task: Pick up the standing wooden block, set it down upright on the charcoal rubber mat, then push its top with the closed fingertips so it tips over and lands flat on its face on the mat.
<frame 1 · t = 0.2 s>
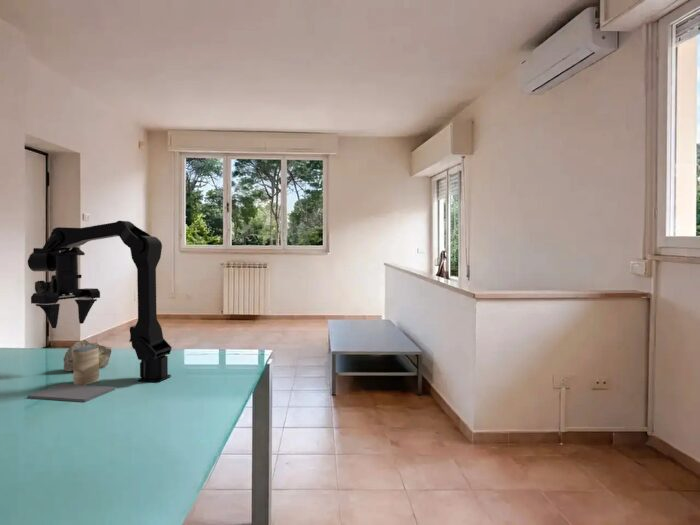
hand: (68, 325, 147), 14 cm above the table, fingers open, 9 cm apart
rock: (87, 370, 154), on the table
wooden block: (86, 382, 139), on the table
mat: (72, 393, 129), on the table
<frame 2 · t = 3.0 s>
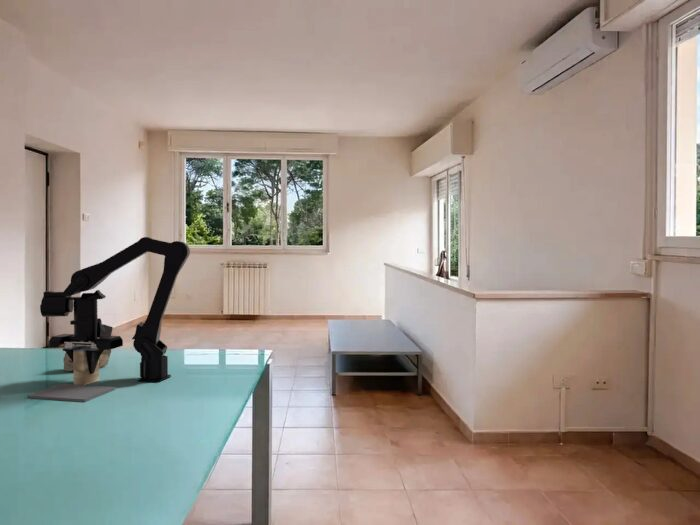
hand: (86, 373, 139), 3 cm above the table, fingers closed on wooden block, 3 cm apart
wooden block: (86, 382, 139), on the table, touching gripper
everything else where it was.
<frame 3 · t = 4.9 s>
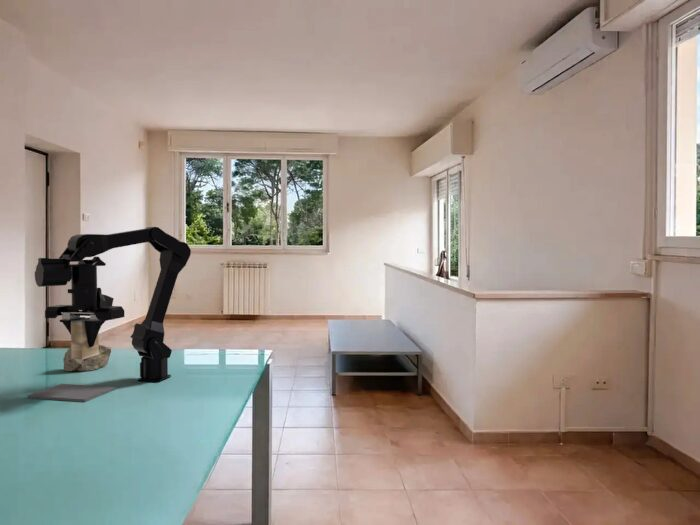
hand: (85, 346, 129), 12 cm above the table, fingers closed on wooden block, 3 cm apart
wooden block: (85, 356, 129), point 9 cm above the table, touching gripper
everything else where it was.
when the fingers open (3 cm above the table, at t = 6.9 s): wooden block stays where it is, resting on mat.
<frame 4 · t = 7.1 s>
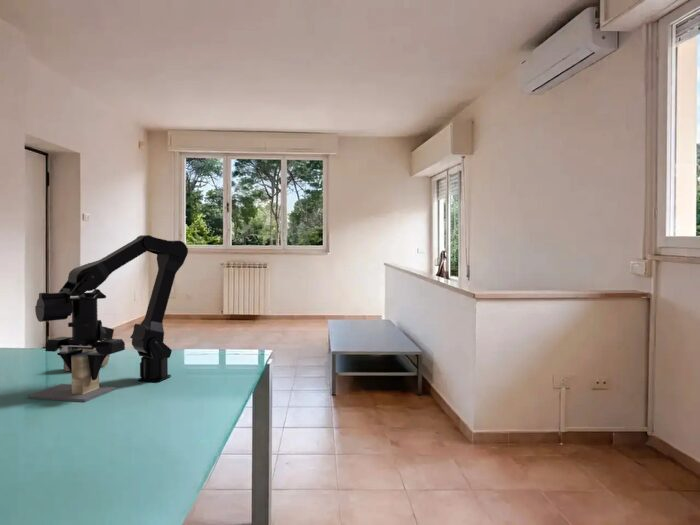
hand: (85, 379, 129), 3 cm above the table, fingers open, 5 cm apart
wooden block: (85, 390, 129), point 1 cm above the table, touching mat
everything else where it was.
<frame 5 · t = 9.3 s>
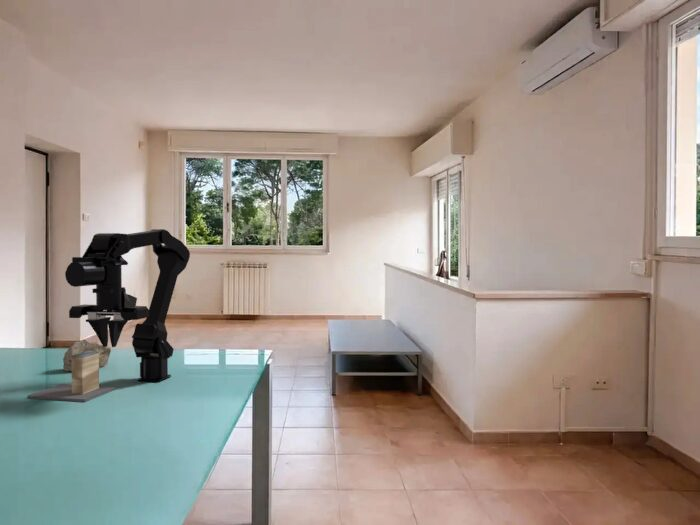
hand: (109, 346, 127), 12 cm above the table, fingers closed
nothing on the table moved.
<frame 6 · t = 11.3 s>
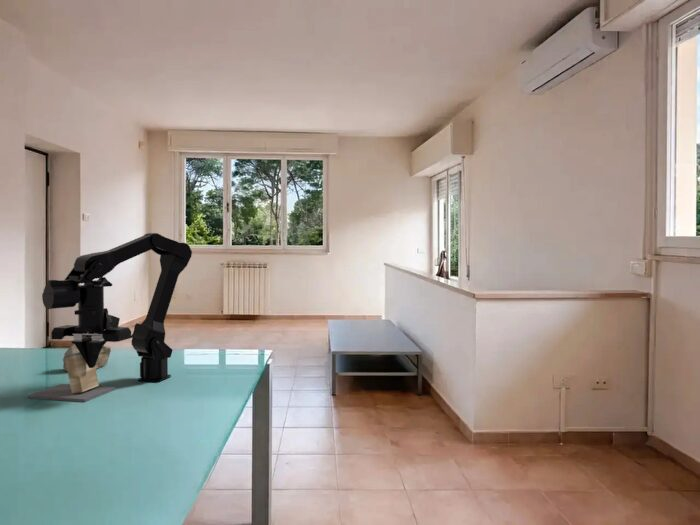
hand: (91, 367, 129), 7 cm above the table, fingers closed
wooden block: (85, 389, 129), point 1 cm above the table, tilted 12°, touching mat
everything else where it was.
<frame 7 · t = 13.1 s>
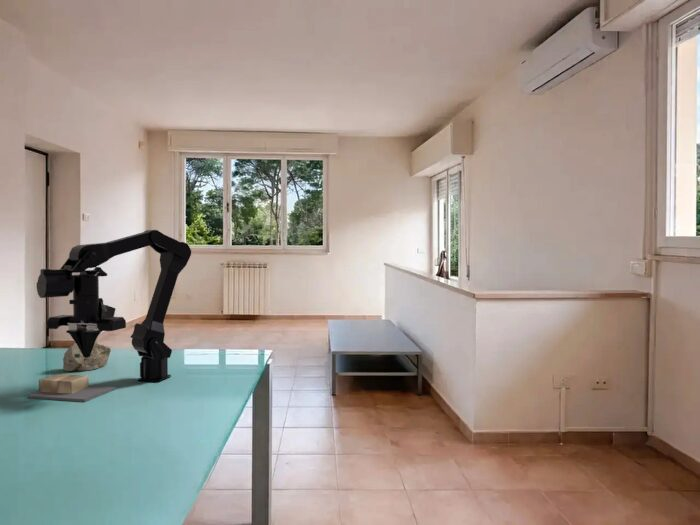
hand: (86, 357, 129), 9 cm above the table, fingers closed
wooden block: (80, 384, 129), point 2 cm above the table, tilted 90°, touching mat
everything else where it was.
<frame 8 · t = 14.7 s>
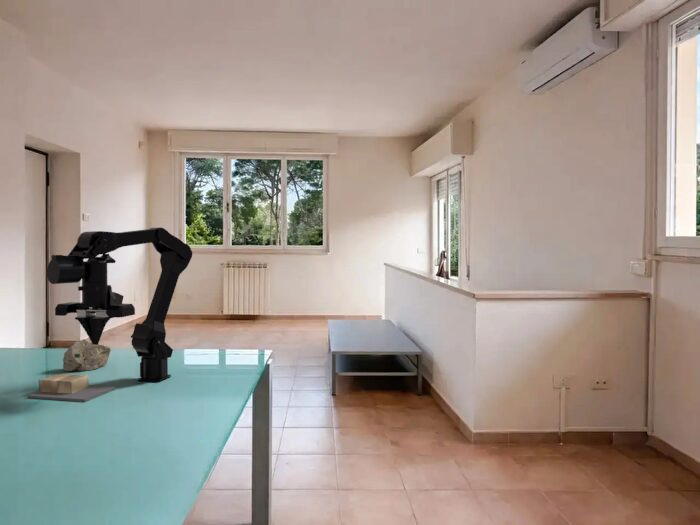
hand: (95, 344, 128), 12 cm above the table, fingers closed
nothing on the table moved.
at the end: wooden block tilted 90°; wooden block inside the target area on the mat (1.8 cm from its centre), point 2.1 cm above the mat's base; the gripper is holding nothing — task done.
